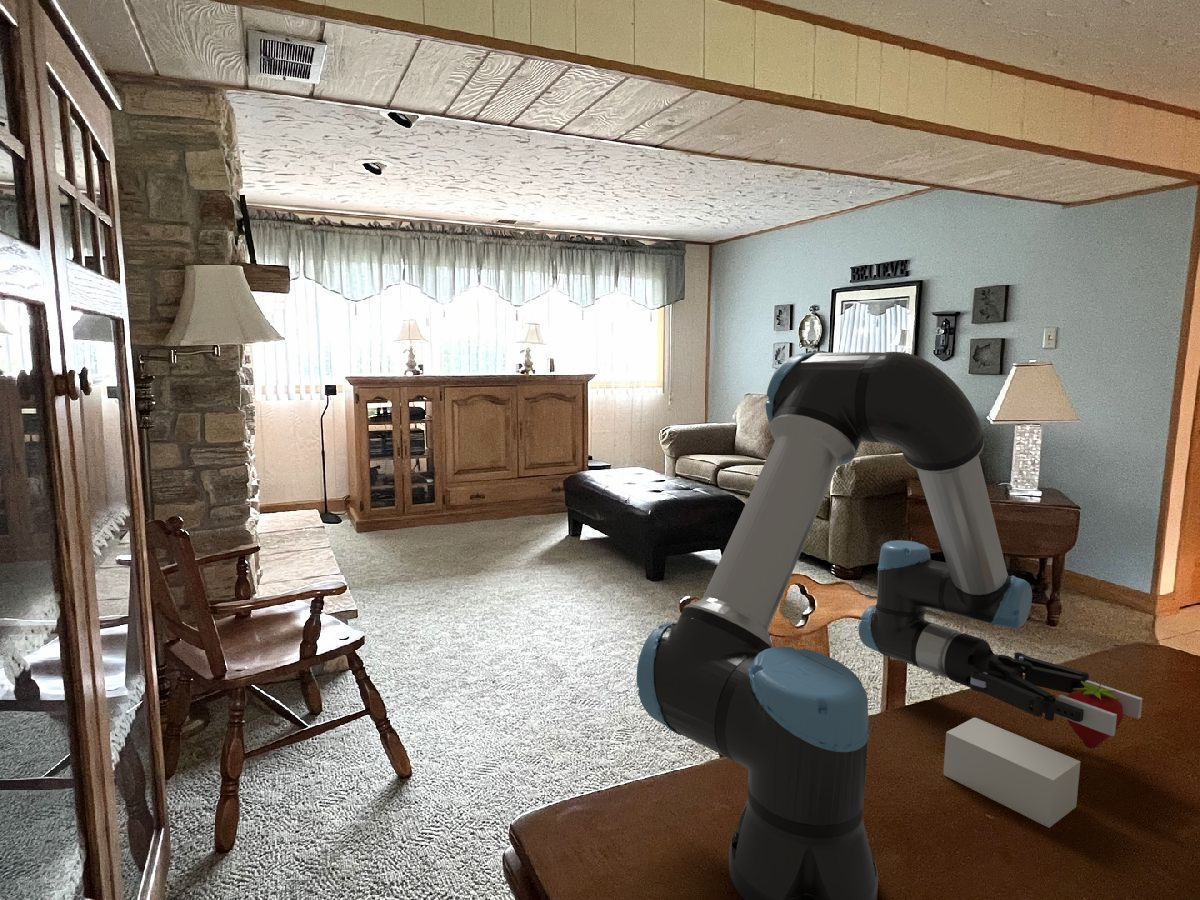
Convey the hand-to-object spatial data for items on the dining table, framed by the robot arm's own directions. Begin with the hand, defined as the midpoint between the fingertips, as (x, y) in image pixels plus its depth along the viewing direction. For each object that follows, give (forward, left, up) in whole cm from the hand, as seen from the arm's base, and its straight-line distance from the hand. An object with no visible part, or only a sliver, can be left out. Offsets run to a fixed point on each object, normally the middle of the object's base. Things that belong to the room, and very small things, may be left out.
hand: (1127, 716), depth 92 cm
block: (-14, +7, -9) cm, 18 cm away
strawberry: (0, +4, -6) cm, 7 cm away
